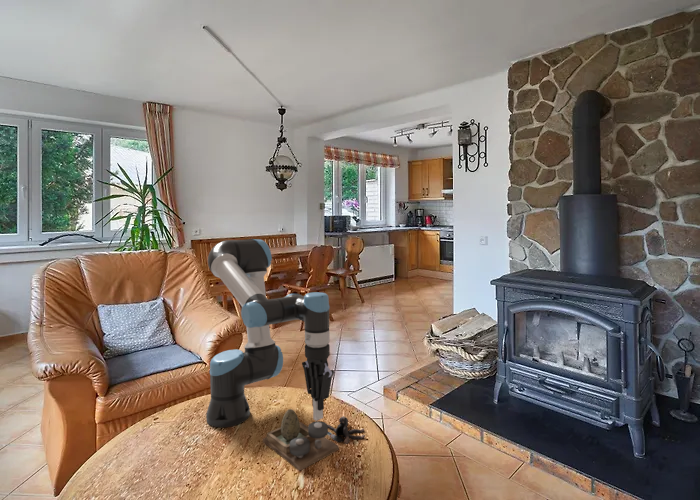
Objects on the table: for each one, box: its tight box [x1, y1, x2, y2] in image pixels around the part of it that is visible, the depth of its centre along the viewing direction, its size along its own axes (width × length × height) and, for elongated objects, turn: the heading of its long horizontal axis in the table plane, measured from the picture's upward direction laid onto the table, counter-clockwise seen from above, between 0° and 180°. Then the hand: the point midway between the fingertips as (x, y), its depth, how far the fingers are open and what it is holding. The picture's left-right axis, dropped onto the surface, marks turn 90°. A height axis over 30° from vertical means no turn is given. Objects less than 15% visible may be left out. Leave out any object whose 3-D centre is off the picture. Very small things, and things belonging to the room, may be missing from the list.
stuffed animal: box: [326, 415, 366, 445], centre depth 133 cm, size 12×10×12 cm
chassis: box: [262, 421, 340, 471], centre depth 125 cm, size 20×15×6 cm
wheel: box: [307, 420, 329, 438], centre depth 122 cm, size 6×6×3 cm
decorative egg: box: [280, 408, 300, 441], centre depth 126 cm, size 6×6×10 cm
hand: (318, 418), depth 122 cm, fingers closed
